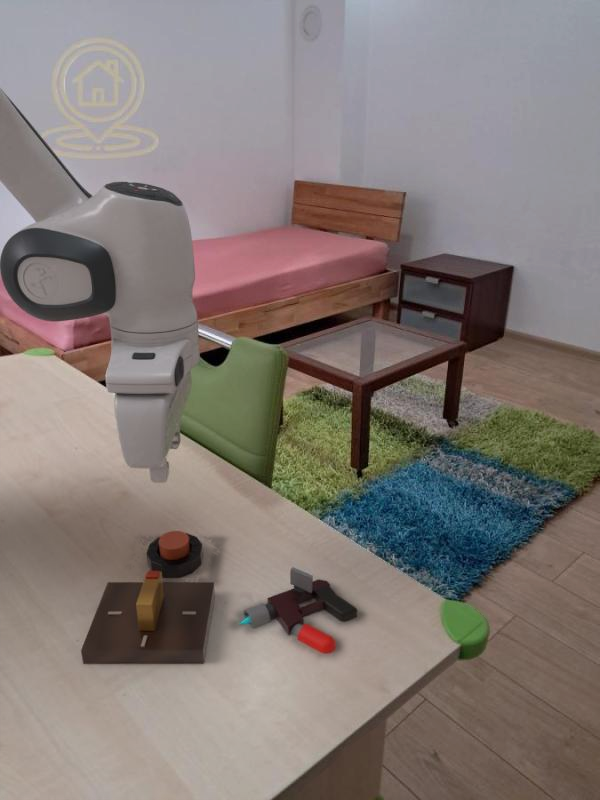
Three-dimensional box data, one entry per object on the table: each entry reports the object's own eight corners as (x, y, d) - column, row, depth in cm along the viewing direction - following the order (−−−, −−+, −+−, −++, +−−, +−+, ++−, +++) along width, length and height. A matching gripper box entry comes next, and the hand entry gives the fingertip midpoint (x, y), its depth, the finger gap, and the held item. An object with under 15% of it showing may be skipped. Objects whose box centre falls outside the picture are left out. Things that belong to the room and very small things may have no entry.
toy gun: (232, 623, 70) (231, 588, 68) (326, 587, 75) (327, 554, 73) (271, 687, 62) (271, 650, 60) (372, 642, 67) (375, 607, 65)
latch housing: (128, 590, 74) (125, 570, 73) (142, 548, 82) (140, 528, 80) (213, 590, 74) (212, 570, 73) (220, 548, 82) (219, 529, 80)
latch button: (157, 560, 75) (155, 548, 74) (162, 542, 78) (161, 530, 78) (187, 560, 75) (186, 549, 75) (191, 542, 79) (191, 530, 78)
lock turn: (154, 631, 64) (151, 602, 63) (139, 631, 64) (135, 602, 63) (164, 597, 69) (161, 569, 67) (149, 596, 69) (146, 569, 67)
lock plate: (84, 672, 63) (80, 649, 62) (110, 602, 72) (107, 580, 71) (204, 672, 63) (202, 649, 62) (215, 602, 73) (214, 580, 71)
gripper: (147, 317, 75) (156, 421, 81) (99, 384, 57) (116, 512, 62) (200, 317, 75) (206, 421, 81) (169, 384, 57) (180, 513, 63)
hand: (166, 462), depth 72 cm, fingers open, 6 cm apart
